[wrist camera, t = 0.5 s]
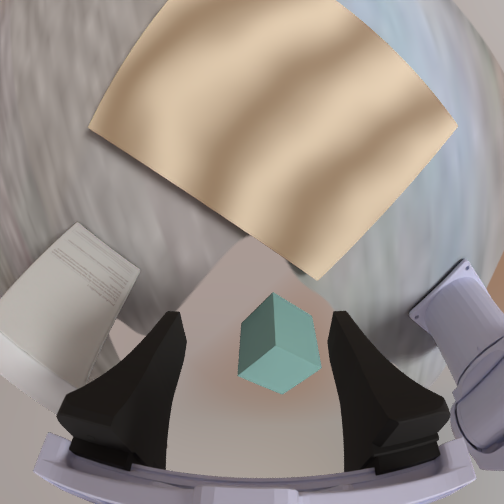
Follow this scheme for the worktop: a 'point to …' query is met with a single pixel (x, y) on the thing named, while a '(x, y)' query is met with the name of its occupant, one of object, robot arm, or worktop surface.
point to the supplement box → (62, 315)
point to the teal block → (278, 345)
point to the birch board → (276, 119)
